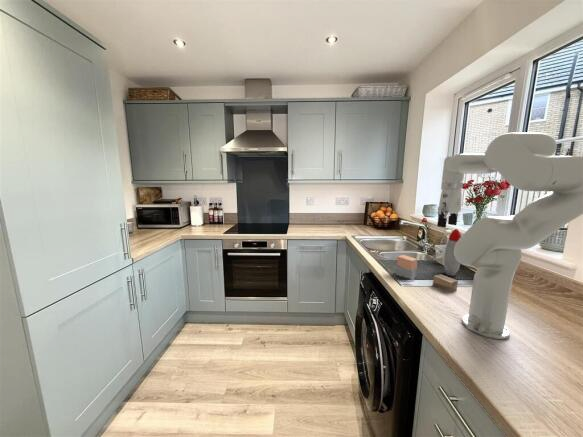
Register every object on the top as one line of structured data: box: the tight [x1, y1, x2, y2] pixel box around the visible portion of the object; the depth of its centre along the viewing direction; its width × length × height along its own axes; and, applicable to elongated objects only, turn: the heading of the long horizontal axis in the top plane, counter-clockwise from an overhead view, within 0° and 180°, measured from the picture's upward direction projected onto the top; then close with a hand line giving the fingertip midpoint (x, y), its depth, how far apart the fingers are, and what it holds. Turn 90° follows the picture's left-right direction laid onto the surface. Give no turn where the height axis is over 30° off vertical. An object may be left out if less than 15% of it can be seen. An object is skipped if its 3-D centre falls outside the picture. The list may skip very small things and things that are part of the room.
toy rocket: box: [443, 228, 462, 277], centre depth 124 cm, size 8×8×25 cm
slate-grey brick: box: [395, 265, 417, 280], centre depth 123 cm, size 5×8×5 cm, turn 41°
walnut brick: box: [432, 273, 459, 294], centre depth 110 cm, size 5×8×5 cm, turn 23°
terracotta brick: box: [396, 254, 418, 270], centre depth 122 cm, size 5×8×5 cm, turn 30°
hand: (446, 225), depth 102 cm, fingers open, 9 cm apart
